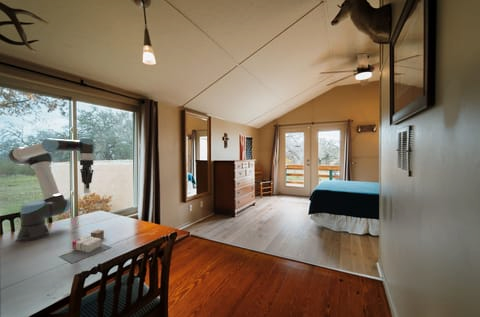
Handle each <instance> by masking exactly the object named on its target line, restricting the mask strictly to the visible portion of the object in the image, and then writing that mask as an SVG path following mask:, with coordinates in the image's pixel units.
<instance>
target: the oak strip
mask: <svg viewBox="0 0 480 317" xmlns="http://www.w3.org/2000/svg"><path fill="white" fill-rule="evenodd" d="M74 251H77V250H75V249H72V250H71V251H68V252H65V253H62V254H61V255H62V256H63V255H66V254H69V253H72V252H74Z"/></svg>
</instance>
